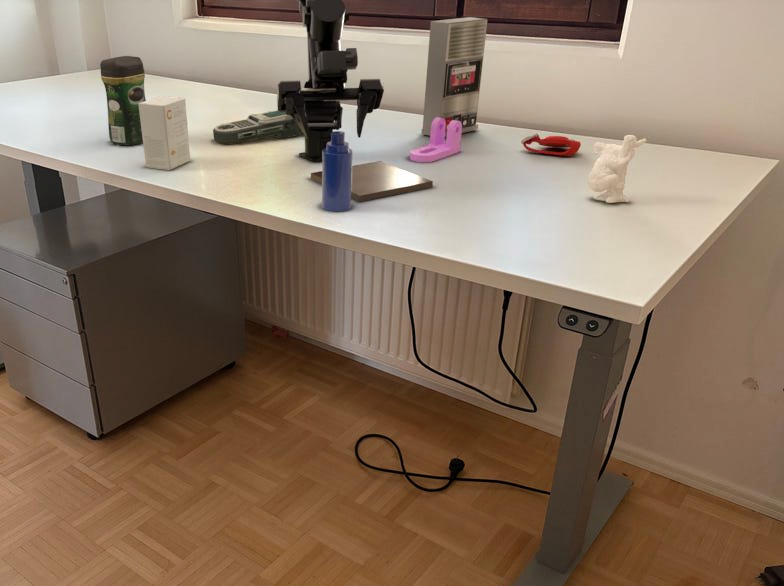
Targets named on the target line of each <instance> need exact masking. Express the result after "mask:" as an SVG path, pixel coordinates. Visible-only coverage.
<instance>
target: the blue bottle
mask: <svg viewBox="0 0 784 586" xmlns="http://www.w3.org/2000/svg"><path fill="white" fill-rule="evenodd" d="M345 135H346V134H345V131H340V130H333V132H331V142H328V143H327V148H325V149H323V151H322V162H321V163H322V166H321V167H322V169H321V171H322V184H321V208H322V209H323V210H325V211H329V212H345V211H348V210H350V209H352V198H351V192H352V166H353V159H354V158H353V155H354V153H353V151H354V150H353V149H352V148H350V143H349V142H348V141H345V138H346V137H345Z"/></svg>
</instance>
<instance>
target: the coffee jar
mask: <svg viewBox="0 0 784 586" xmlns="http://www.w3.org/2000/svg"><path fill="white" fill-rule="evenodd" d="M99 67H100V78H101V81H102V83H103V85H104V89H105V94H106V106H107V123H108V124H107V125H108V127H107V128H108V136H109V137H108V138H109V141H110V142H111V143H113V144H114V145H117V146H123V145H124V146H125V145H127V146H132V145H134V146H135V145H137V144H142V143H143V138H142V130H141V121H140V113H139V105H138V103H141V102H144V101H147V100H146V93H145V77H146V73H145V67H144V63H143V60H142V59H141V57H139V56H133V55H121V56H116V57H112V58H107V59H102V60H101V61H100V65H99Z"/></svg>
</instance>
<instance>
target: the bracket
mask: <svg viewBox="0 0 784 586" xmlns="http://www.w3.org/2000/svg"><path fill="white" fill-rule="evenodd" d="M445 127H446V122H445V119H444V118H439V117H436V118H435V119H434V120H433V122H432V124H431V133H430V136H429V143H428V144H426V145H424V146H421V147H418V148H415V149H412V150H410V153H409V160H410V161H412V162H416V163H432V162H435V161H438V160H442V159H444V158H446V157H449V156H451V155H455V154H457V153H460V151H461V143H462V141H461V140H462V133H461V132H462V123H461V122H460V121H456V120H452V121H451V122H450V123H449V125H448V128H447V137H445ZM445 140H446V141H445Z"/></svg>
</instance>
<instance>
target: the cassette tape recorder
mask: <svg viewBox="0 0 784 586" xmlns="http://www.w3.org/2000/svg"><path fill="white" fill-rule="evenodd" d="M488 21H489V20H488V18H482V17H473V16H468V17H460V18H459V17H458V18H451V19H450V18H448V19H440V20H430V24H429V25H430V26H429V27H430V28H429V40H428V51H427V64H426V65H427V66H426V76H425V77H426V78H425V93H424V103H423V104H424V106H423V116H422V117H423V118H422V128H421V133H420V134H422V135H424V136H429V137H430V133H431V124H432V122H433V120H434V119H435V118H436V117H439V118H444V119H445V122H446V127H445V138H447V128H448V125H449V123H450V122H451V121H452V120H456V121H460V122H461V123H462V132H461V134H464V133H469V132H472V131H473V132H475V131H477V130H478V129H479V124H477V119H478V110H479V109H478V108H479V102H480V101H479V99H480V90H481V83H482V73H483V72H482V71H483V63H484V55H485V45H486V38H487V28H488Z"/></svg>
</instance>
